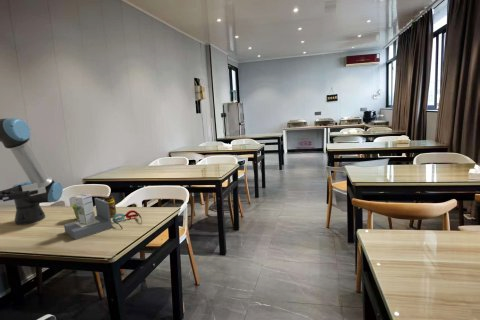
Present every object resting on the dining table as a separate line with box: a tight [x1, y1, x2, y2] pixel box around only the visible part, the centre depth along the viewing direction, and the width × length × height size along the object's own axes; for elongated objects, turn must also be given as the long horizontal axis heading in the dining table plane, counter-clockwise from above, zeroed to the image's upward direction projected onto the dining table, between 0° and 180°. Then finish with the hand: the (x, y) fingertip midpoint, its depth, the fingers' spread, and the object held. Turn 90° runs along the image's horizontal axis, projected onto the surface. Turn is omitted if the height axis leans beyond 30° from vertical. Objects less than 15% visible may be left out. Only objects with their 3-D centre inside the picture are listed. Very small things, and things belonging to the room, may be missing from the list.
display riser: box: [63, 197, 113, 240], centre depth 161 cm, size 16×18×14 cm
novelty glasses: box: [112, 209, 143, 230], centre depth 168 cm, size 14×15×5 cm
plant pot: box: [71, 203, 79, 221], centre depth 181 cm, size 9×9×9 cm
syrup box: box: [74, 193, 96, 224], centre depth 160 cm, size 6×6×14 cm
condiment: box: [103, 195, 119, 219], centre depth 180 cm, size 7×8×12 cm
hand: (41, 187), depth 151 cm, fingers open, 13 cm apart
